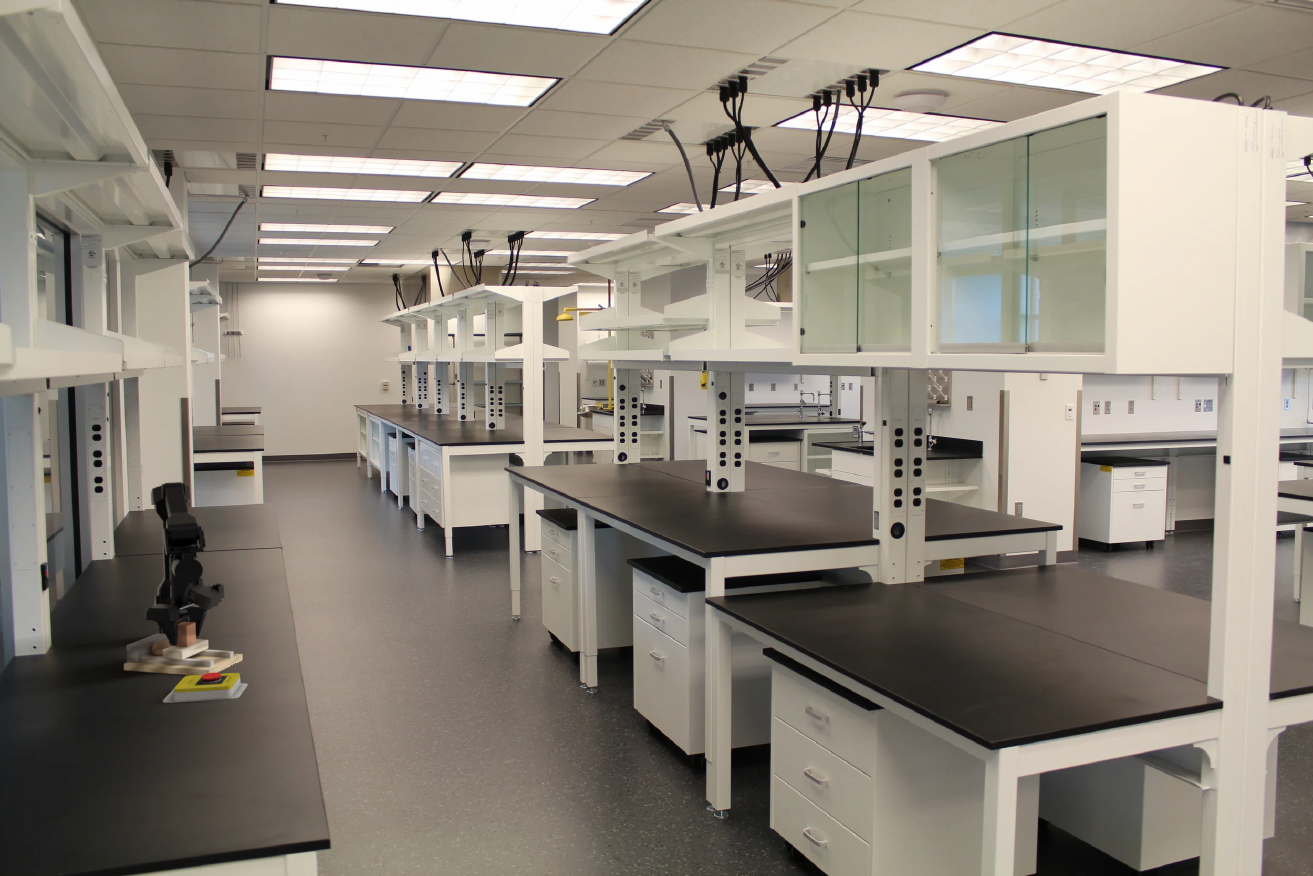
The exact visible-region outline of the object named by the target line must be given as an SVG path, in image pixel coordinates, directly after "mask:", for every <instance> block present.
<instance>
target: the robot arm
mask: <svg viewBox="0 0 1313 876" xmlns="http://www.w3.org/2000/svg"><path fill="white" fill-rule="evenodd" d="M190 489H191V488H190V486H189V485H187V484H186V483H185V482H181V481H179V482H178V481H176V482H175V481H174V482H165V483H162V484H161V485H159V486H156V487H154V488H153V487H152V488H151V491H150V500H151V502H150V503H151V506H153V507H154V512H155V514H156V515H157V516H158V517H159V519H160V521H161V537H162V539H161V540H162V560H163V561H162V563H163V566H162V567H163V578H162V580H161V581H160V583H159V585H158V586H157V589H156V590H157V594H155V595H154V603H153V606H149V607H148V608H147V609H146V610H145V611H144V612H145V613H144V615H145V621H153V622H156V623H157V625H158V633H159V634H165V635H166V636H167V638H168V640H169V643H170V645H171V646H176V645H177V642H178V625H179V624H180V623H182V622H195V627H196V638H199V636H200V633H201V631H202V628H203V625H204V621H205V619H206V617H207V614H208V612H210V611H211V610H212V609H214V608H215V607H219V604H220V603H222V599H224V598H225V587H224V584H222V583H220V582H218V583H215V584H213V585H208V586H206V585H204V583H203V582H204V580H203V579H202V578H203V577H202V576H203V575H202V574H203V571H204V568H203V565H202V564H201V562H200V561H199V559H198V556H197V553H204V548H206V545H207V544H206V538H205V532H204V529H202V525H199V524H198V522H197V518H196V517H195V516H193V515H191V514H190V512H189V509H188V503H190V501H191V492H190Z"/></svg>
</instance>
